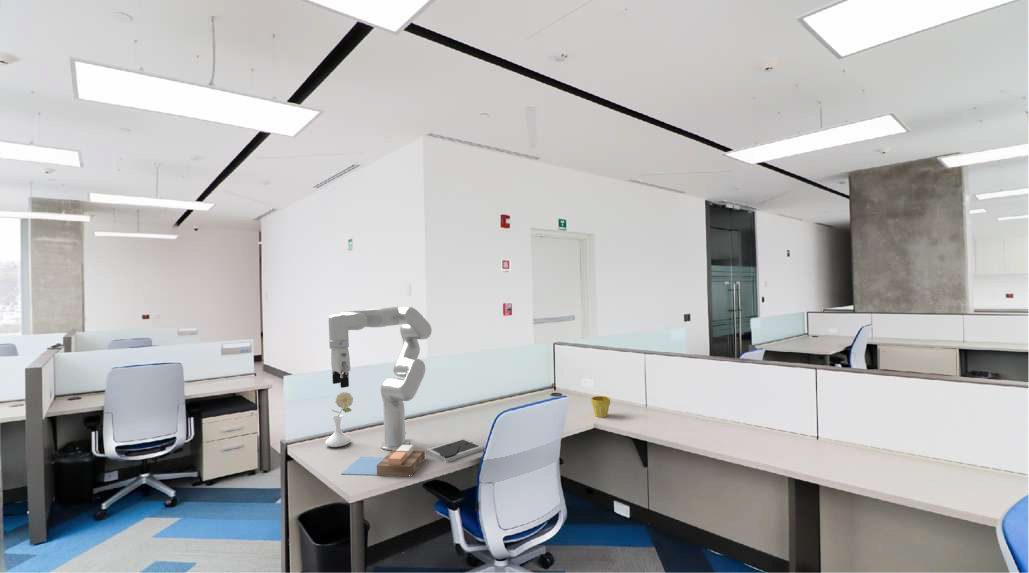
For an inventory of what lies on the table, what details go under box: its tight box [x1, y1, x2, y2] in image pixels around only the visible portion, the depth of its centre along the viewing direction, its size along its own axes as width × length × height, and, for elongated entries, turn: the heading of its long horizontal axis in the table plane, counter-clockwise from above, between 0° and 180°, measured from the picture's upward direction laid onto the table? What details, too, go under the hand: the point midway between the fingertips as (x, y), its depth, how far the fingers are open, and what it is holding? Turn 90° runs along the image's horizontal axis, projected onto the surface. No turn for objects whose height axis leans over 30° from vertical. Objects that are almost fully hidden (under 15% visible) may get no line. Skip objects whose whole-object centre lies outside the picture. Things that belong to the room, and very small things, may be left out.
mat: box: [341, 456, 386, 476], centre depth 201 cm, size 18×15×1 cm
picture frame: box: [425, 437, 485, 463], centre depth 216 cm, size 16×3×21 cm
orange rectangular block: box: [388, 452, 407, 465], centre depth 195 cm, size 7×5×2 cm
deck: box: [376, 449, 426, 477], centre depth 199 cm, size 18×14×4 cm
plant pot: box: [590, 395, 611, 418], centre depth 265 cm, size 10×10×10 cm
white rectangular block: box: [396, 444, 414, 457], centre depth 203 cm, size 7×5×2 cm
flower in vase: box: [325, 391, 354, 448], centre depth 227 cm, size 13×11×25 cm
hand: (340, 385), depth 199 cm, fingers open, 9 cm apart
